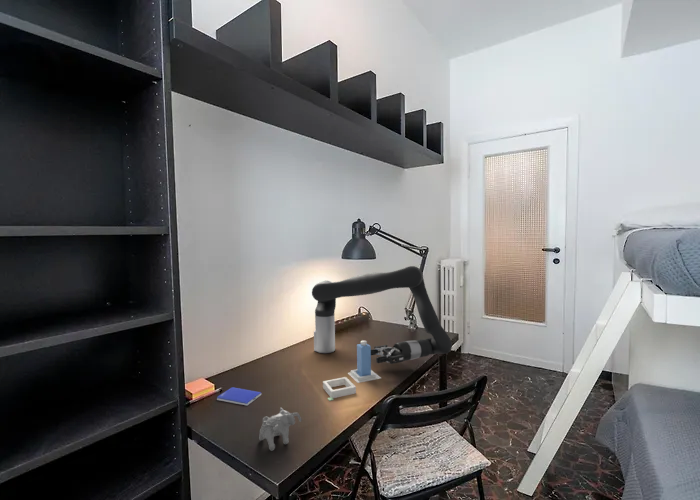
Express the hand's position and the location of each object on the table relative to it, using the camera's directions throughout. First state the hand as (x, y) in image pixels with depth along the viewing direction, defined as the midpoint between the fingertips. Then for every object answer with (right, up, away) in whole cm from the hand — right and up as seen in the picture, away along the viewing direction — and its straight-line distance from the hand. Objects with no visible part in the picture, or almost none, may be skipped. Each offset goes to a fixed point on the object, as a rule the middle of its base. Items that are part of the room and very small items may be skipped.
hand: (371, 356), depth 138 cm
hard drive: (-47, -10, -16) cm, 51 cm away
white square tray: (-3, -8, -1) cm, 9 cm away
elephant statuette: (-28, -11, -41) cm, 50 cm away
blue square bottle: (-3, -7, -1) cm, 8 cm away
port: (-12, -9, -13) cm, 20 cm away
